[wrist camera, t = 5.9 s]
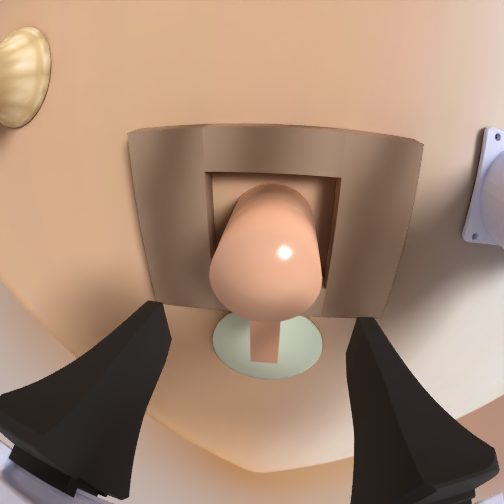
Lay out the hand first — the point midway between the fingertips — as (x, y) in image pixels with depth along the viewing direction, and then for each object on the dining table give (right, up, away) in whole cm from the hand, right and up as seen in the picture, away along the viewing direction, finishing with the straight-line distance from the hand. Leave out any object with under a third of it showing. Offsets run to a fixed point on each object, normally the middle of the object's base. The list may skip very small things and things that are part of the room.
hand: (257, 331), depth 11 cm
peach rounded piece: (+1, +3, +9) cm, 9 cm away
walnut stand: (+1, +5, +8) cm, 9 cm away
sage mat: (+1, -5, +13) cm, 14 cm away
